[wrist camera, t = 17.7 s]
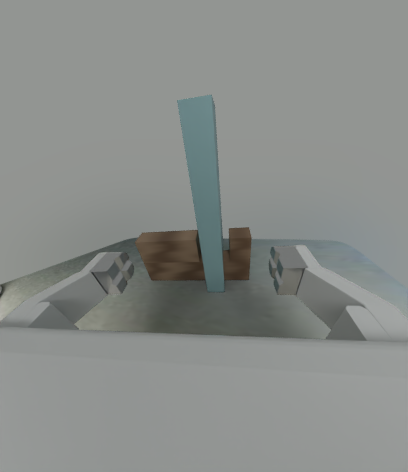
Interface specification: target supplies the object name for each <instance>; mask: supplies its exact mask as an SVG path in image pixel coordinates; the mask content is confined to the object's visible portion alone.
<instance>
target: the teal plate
mask: <svg viewBox="0 0 408 472" xmlns="http://www.w3.org/2000/svg"><path fill="white" fill-rule="evenodd" d="M177 102H178V109H179V115H180V121H181V127H182V133H183V140H184V145H185V152H186V159H187V165H188V171H189V177H190V183H191V190H192V196H193V203H194V209H195V215H196V221H197V228H198V234H199V241H200V247H201V253H202V259H203V266H204V272H205V278H206V285H207V291H208V292H225V288H224V270H223V236H222V219H221V202H220V185H219V168H218V151H217V134H216V119H215V105H214V101H213V98H212V95H207V96H201V97H195V98H189V99H183V100H177Z"/></svg>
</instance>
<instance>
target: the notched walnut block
mask: <svg viewBox="0 0 408 472" xmlns="http://www.w3.org/2000/svg"><path fill="white" fill-rule="evenodd" d="M135 244H136V246H137V249H138V251H139V253H140V255H141V258H142V260H143V262H144V264H145V267H146V269H147V271H148V273H149V276H150V278H151V280H206V278H205V272H204V266H203V259H202V253H201V247H200V241H199V234H198V230H189V231H168V232H148V233H142V234H141V235H140V237H139V238H138V239H137V240H136V242H135ZM229 248H230V250H223V270H224V280H249V269H250V253H251V234H250V230H249V228H230V229H229Z"/></svg>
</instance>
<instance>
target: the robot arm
mask: <svg viewBox="0 0 408 472" xmlns="http://www.w3.org/2000/svg"><path fill="white" fill-rule="evenodd" d="M270 253H271V256H272V257H271V258H270V259H269V271H270V275H271V277H272V278H273V279H274V287H275V289H276V292H277V295H296V297H297V298H298V299H299V300H301V301H302V302H303V303H304V304H305V305H306V306H307V307H308V308H309V309H310V310H311V311H312V312H313V313H314V314H315V315H317V316H318V317H319V318H320V319H321V320H322V321H323V322H324V323H325V324H326V325H327V326H328V327H329V328H330V329H331V331H330V333H329V334H328V336H327V337H326V339H306V338H280V337H254V336H229V335H203V334H177V333H151V332H124V331H98V330H79V328H77V327H76V326H75V325H74V324H75V323H76V322H77V321H78V320H79V319H81V318H82V317H83V316H84V315H85V314H86V313H88V312H89V311H90V310H91V309H92V308H93V307H95V306H96V305H97V304H98V303H99V302H100V301H102V300H103V299H104V298H105V297H106V296H108V295H112V294H122V293H123V291H124V289H125V288H126V286H127V281H128V280H129V279H131V278H132V276H133V273H134V266H133V264H132V262H130V261H129V260H128V259H129V256H128V254H127V253H126V252H101V253H98V254H97V255H96V256H95V257H94V258H93V259H92V260H91V261H90V262H89V263H88V264H87V265H86V266H85V268H84V269H83V270H82V271H81V272H77V273H75V274H73V275H71V276H70V277H68V278H66V279H64V280H62V281H60V282H58V283H57V284H55V285H53V286H51V287H49V288H47V289H45V290H43V291H42V292H40V293H38V294H36V295H34V296H32V297H30V298H29V299H27V300H25V301H23V302H22V303H21V304H20V305H19V306H18V307H17V308H15V309H14V310H13V311H12V312H11V313H10V314H9V315H7V316H6V317H5V318H4V319H3V320H2V321H1V322H0V472H408V319H407V318H406V317H405V316H404V315H403V314H402V312H401V311H400V310H399V309H398V308H397V307H396V306H395V305H393V304H391V303H389V302H387V301H386V300H384V299H382V298H380V297H378V296H376V295H374V294H373V293H371V292H369V291H367V290H365V289H363V288H362V287H360V286H358V285H356V284H354V283H352V282H351V281H349V280H347V279H345V278H343V277H341V276H339V275H338V274H336V273H334V272H332V271H330V270H328V269H327V268H322V267H321V266H320V265H319V263H318V262H317V261H316V259H315V258H314V257H313V255H312V254H311V252H310V251H309V250H308V248H307V247H306V246H305V245H293V246H276V247H272V248H271V252H270ZM1 290H2V287H1V285H0V293H1Z"/></svg>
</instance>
